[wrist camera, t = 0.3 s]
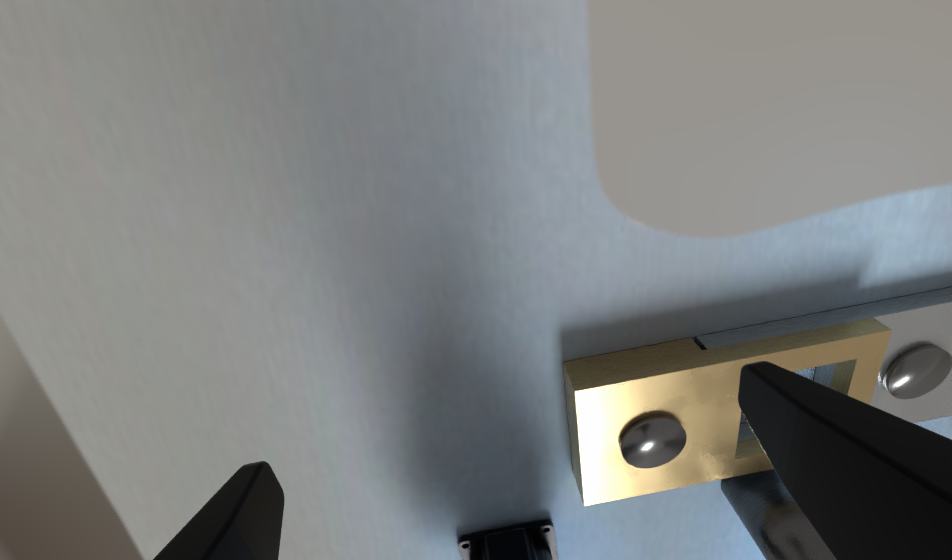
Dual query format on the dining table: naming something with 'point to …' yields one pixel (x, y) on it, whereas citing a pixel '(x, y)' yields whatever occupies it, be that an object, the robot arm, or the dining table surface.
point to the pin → (774, 517)
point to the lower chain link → (906, 358)
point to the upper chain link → (693, 406)
